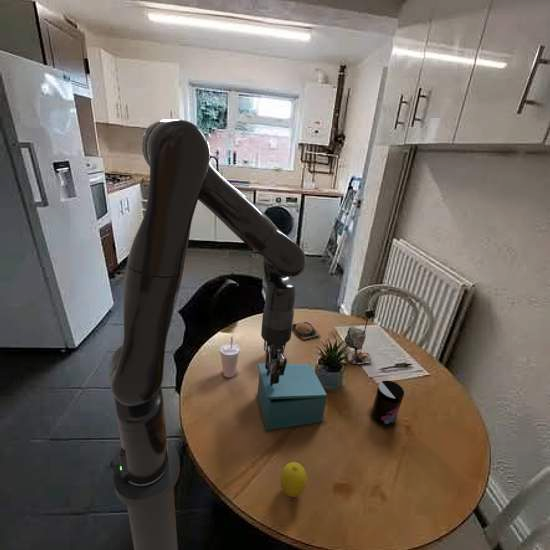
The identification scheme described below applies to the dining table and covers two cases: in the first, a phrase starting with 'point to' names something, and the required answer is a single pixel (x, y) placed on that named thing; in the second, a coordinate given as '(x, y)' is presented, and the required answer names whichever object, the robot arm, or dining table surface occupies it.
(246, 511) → the dining table surface
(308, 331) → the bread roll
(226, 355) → the smoothie
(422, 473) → the dining table surface
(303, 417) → the teal lidded box
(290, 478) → the lemon
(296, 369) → the lid
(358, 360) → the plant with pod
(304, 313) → the dining table surface
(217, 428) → the dining table surface
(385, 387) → the supplement container
